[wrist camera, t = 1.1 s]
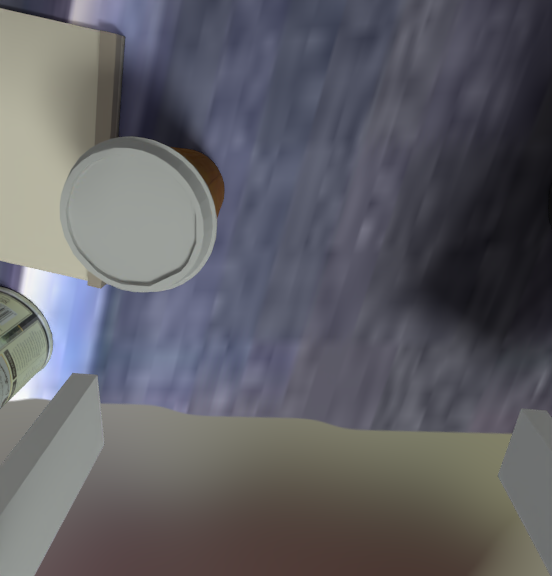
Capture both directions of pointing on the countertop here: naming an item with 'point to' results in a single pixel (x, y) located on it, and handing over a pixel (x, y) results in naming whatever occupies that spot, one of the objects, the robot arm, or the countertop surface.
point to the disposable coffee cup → (141, 212)
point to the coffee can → (21, 343)
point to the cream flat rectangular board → (50, 129)
